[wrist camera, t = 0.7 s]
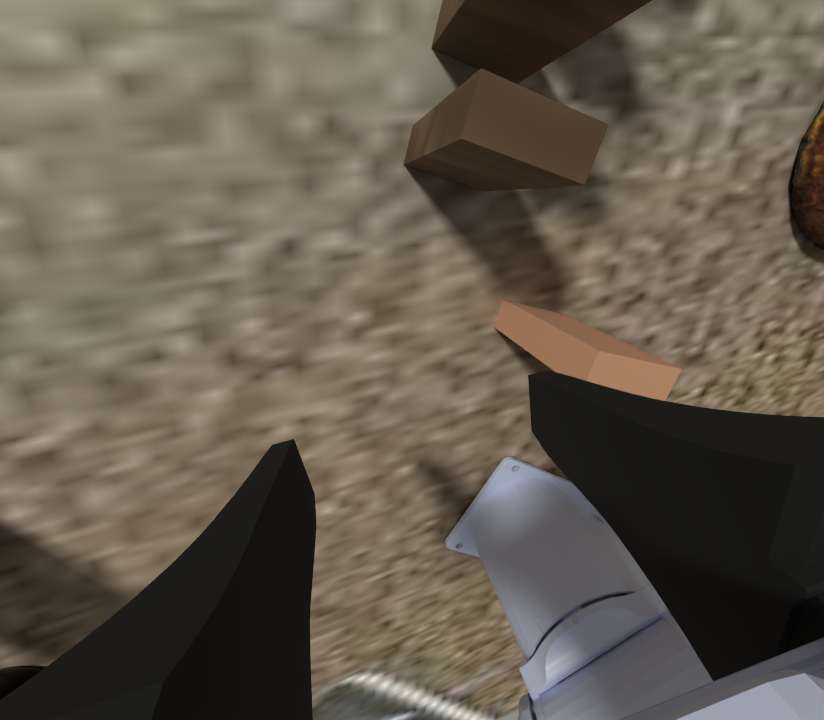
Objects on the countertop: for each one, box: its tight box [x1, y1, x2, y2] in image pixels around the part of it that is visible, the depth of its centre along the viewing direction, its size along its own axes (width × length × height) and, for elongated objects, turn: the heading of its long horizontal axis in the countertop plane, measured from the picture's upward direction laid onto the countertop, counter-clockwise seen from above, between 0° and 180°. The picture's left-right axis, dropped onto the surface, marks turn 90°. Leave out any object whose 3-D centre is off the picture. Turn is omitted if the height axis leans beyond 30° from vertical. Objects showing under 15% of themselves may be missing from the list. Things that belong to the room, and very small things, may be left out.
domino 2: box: [404, 68, 608, 191], centre depth 14 cm, size 2×4×8 cm, turn 74°
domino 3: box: [494, 299, 682, 401], centre depth 18 cm, size 2×4×8 cm, turn 74°
